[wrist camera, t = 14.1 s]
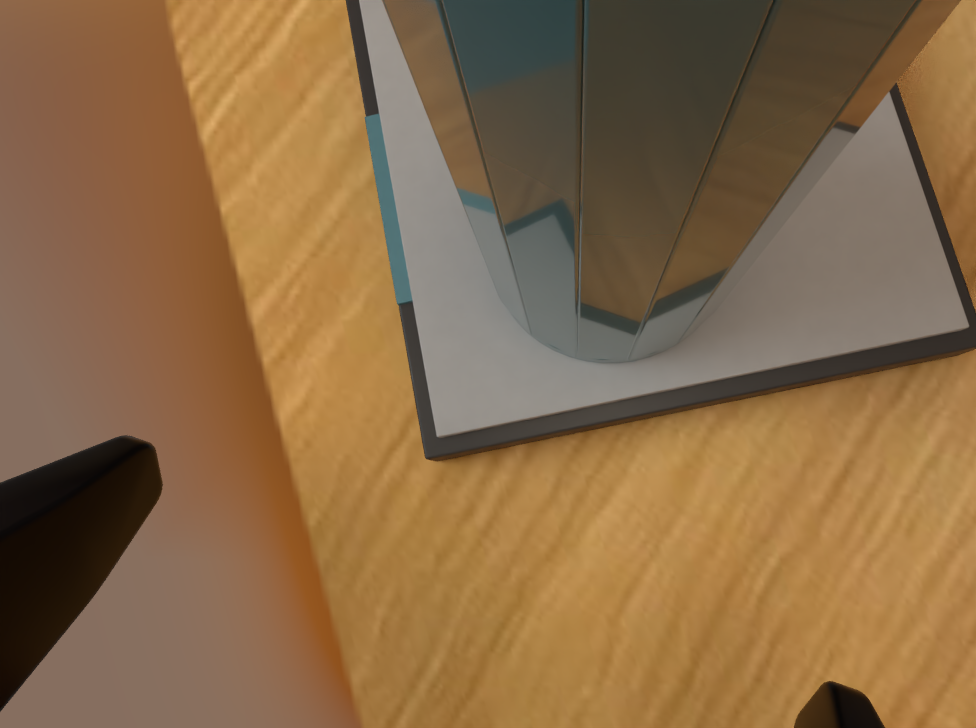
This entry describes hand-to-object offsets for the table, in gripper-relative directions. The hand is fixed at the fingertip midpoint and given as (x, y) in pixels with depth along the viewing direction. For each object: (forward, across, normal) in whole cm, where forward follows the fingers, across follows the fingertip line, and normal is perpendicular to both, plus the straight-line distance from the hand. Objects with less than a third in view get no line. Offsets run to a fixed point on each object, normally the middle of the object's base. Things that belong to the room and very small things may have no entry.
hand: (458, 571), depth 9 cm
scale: (+16, 0, 0) cm, 16 cm away
